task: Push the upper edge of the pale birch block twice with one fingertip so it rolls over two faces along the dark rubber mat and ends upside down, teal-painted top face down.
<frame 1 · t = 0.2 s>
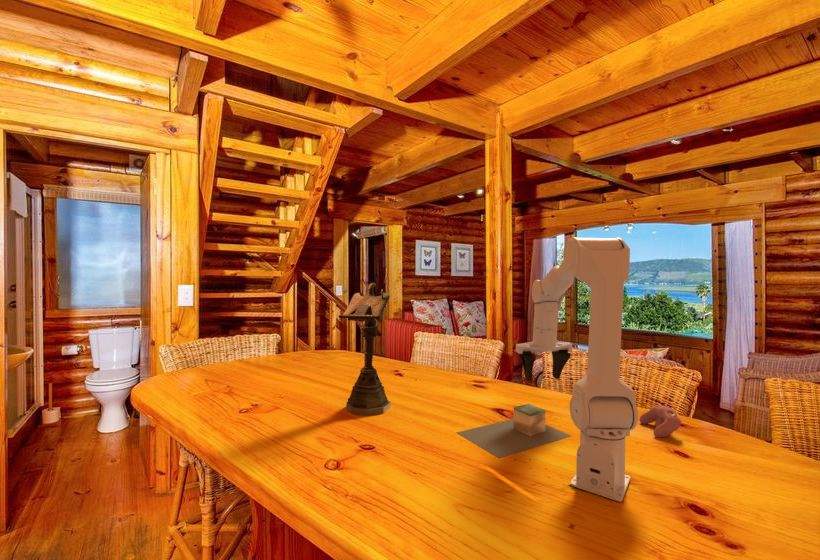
hand: (542, 378, 99), 10 cm above the table, tool pointing down, fingers open, 7 cm apart
video game controller: (659, 431, 91), on the table
book stand: (367, 411, 102), on the table
rubber mat: (513, 436, 87), on the table
birch block: (529, 429, 89), point 1 cm above the table, touching rubber mat
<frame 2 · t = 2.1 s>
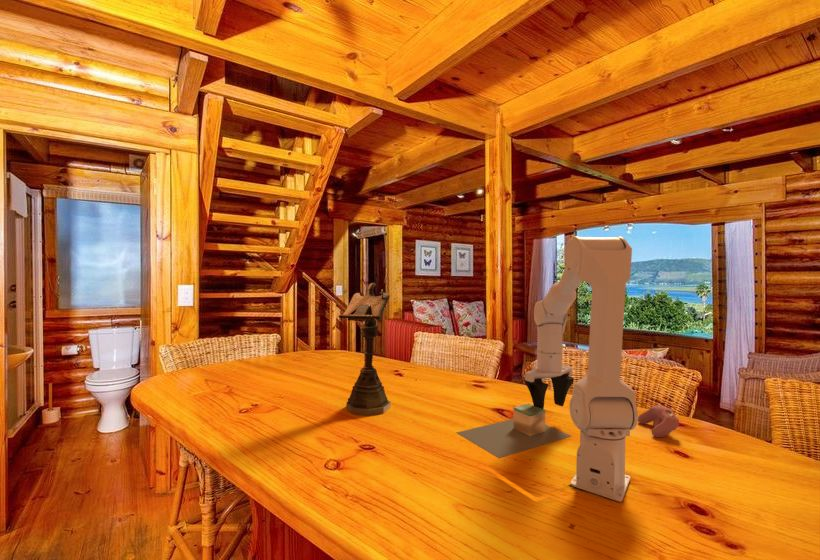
hand: (548, 407, 92), 5 cm above the table, tool pointing down, fingers open, 7 cm apart
birch block: (529, 429, 89), point 1 cm above the table, touching gripper, rubber mat
everything else where it was.
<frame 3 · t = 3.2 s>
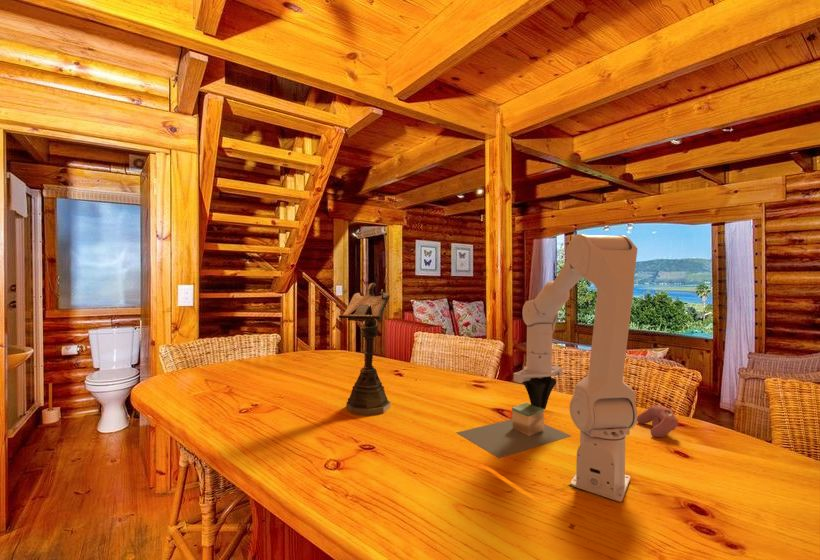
hand: (538, 408, 91), 5 cm above the table, tool pointing down, fingers closed
nothing on the table moved.
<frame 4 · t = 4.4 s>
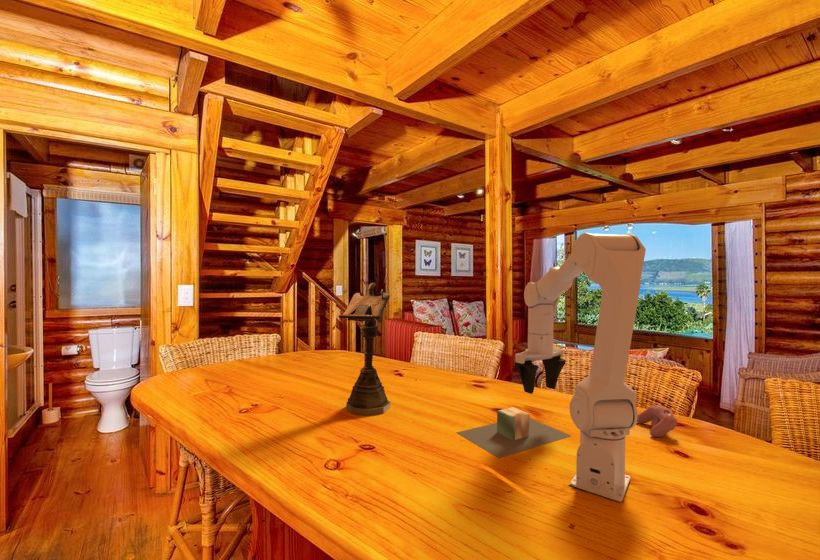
hand: (539, 390, 91), 9 cm above the table, tool pointing down, fingers open, 7 cm apart
birch block: (520, 421, 88), point 3 cm above the table, tilted 90°, touching rubber mat
everything else where it was.
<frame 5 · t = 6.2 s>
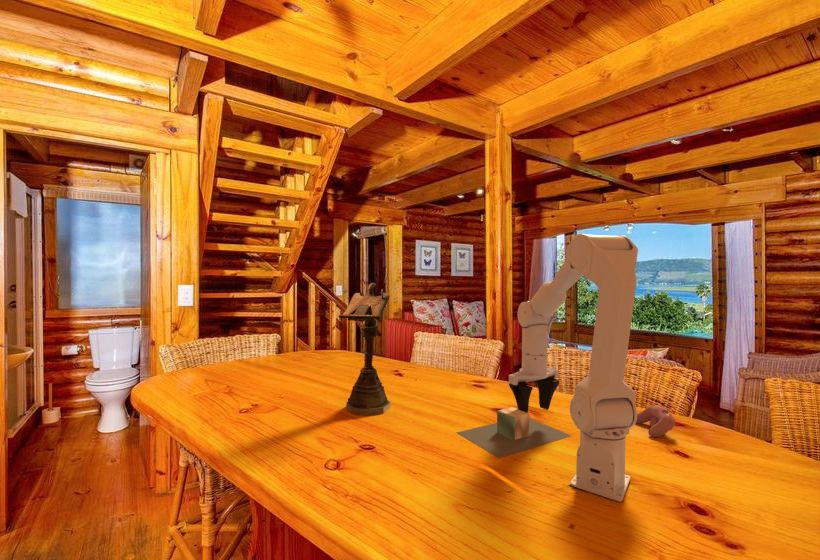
hand: (533, 411, 90), 5 cm above the table, tool pointing down, fingers open, 7 cm apart
birch block: (520, 421, 88), point 3 cm above the table, tilted 90°, touching gripper, rubber mat
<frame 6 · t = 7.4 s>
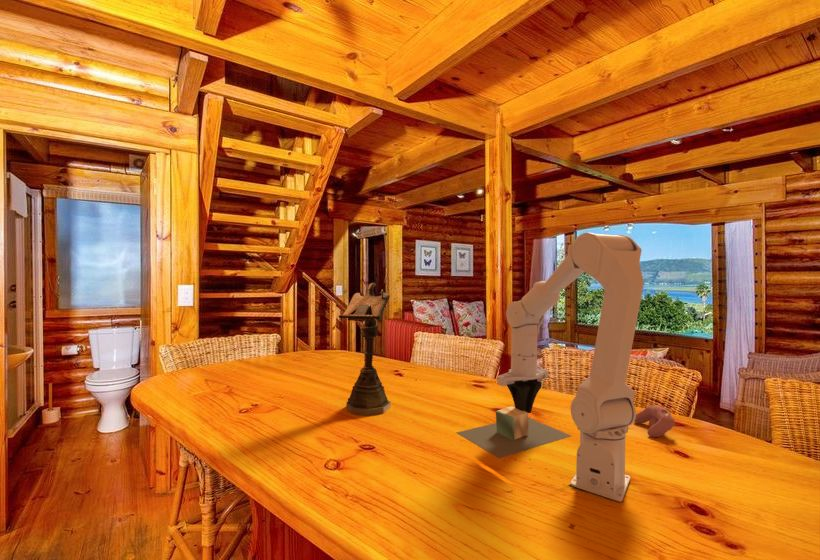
hand: (523, 412, 88), 5 cm above the table, tool pointing down, fingers closed
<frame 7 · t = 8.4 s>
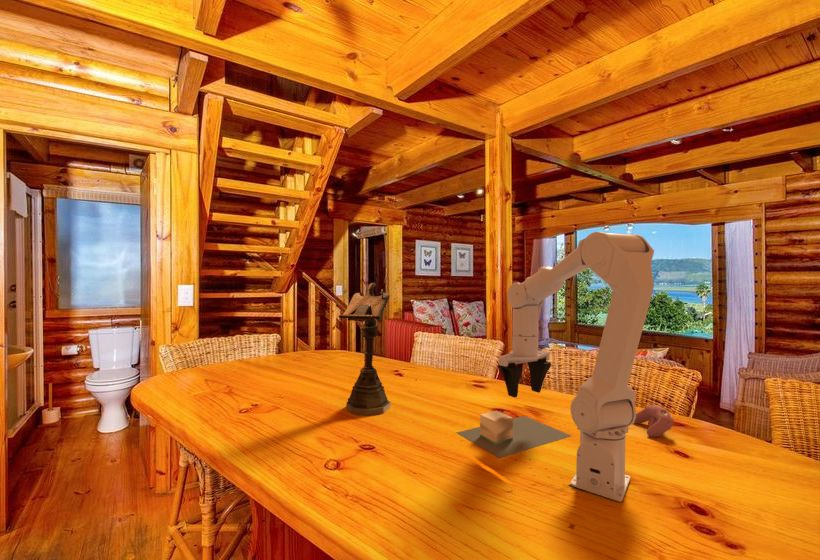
hand: (524, 393, 88), 9 cm above the table, tool pointing down, fingers open, 7 cm apart
birch block: (496, 416, 84), point 6 cm above the table, tilted 180°, touching rubber mat
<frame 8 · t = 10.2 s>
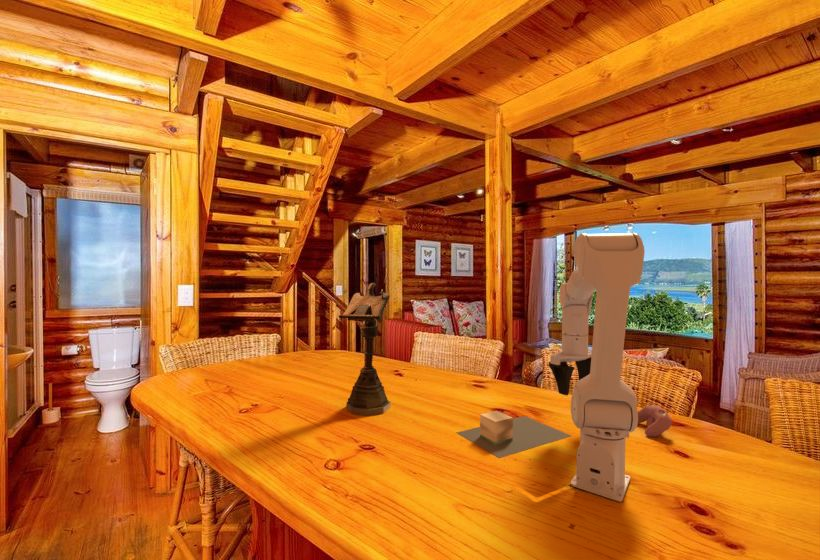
hand: (574, 391, 90), 9 cm above the table, tool pointing down, fingers open, 7 cm apart
at the end: birch block tilted 180°; birch block touching rubber mat; birch block moved 11.3 cm from its start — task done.
